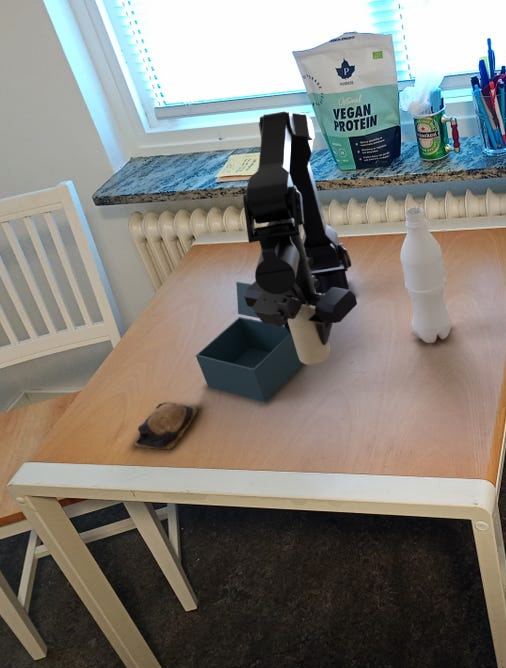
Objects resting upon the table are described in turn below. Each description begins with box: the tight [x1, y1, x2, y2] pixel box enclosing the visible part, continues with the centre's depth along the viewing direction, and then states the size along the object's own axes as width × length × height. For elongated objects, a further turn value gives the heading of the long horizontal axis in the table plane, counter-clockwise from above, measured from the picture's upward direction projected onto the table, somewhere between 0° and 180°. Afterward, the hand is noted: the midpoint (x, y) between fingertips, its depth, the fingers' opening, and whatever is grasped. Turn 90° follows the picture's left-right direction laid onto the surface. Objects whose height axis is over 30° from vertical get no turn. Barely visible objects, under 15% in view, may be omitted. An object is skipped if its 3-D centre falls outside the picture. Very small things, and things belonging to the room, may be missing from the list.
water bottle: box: [400, 206, 452, 344], centre depth 126 cm, size 7×7×25 cm
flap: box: [235, 281, 259, 319], centre depth 132 cm, size 6×14×1 cm
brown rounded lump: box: [134, 402, 199, 451], centre depth 125 cm, size 11×8×4 cm
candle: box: [288, 305, 331, 366], centre depth 120 cm, size 6×6×10 cm
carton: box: [195, 316, 304, 404], centre depth 132 cm, size 13×14×7 cm
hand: (310, 340), depth 121 cm, fingers closed on candle, 5 cm apart
